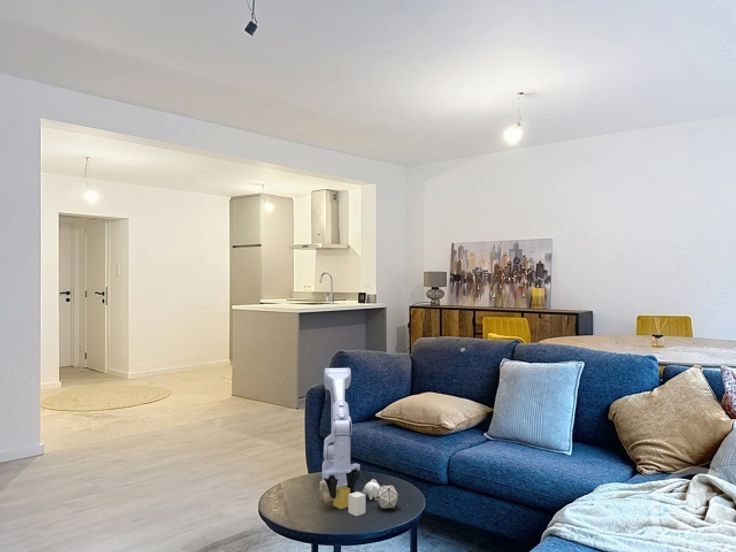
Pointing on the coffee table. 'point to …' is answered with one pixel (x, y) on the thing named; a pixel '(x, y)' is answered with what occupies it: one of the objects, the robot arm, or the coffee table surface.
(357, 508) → the off-white bar
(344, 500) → the mustard bar
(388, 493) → the game die
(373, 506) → the coffee table surface
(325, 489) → the birch bar
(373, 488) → the elephant figurine
